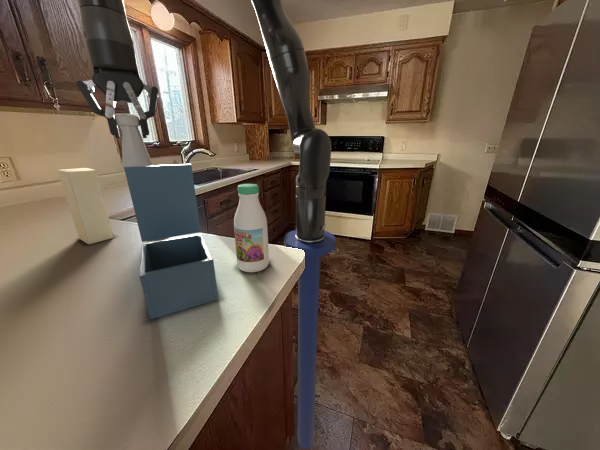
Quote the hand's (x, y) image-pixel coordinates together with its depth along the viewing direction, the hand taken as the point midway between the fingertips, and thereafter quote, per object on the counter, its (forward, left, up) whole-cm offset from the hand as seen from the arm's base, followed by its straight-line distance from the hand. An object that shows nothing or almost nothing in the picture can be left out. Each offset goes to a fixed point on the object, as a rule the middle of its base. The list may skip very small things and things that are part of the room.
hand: (131, 137), depth 53 cm
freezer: (+12, +12, -30) cm, 34 cm away
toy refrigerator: (-13, -27, -30) cm, 42 cm away
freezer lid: (+6, +9, -13) cm, 17 cm away
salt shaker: (0, 0, -8) cm, 8 cm away
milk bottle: (+1, +25, -30) cm, 39 cm away
